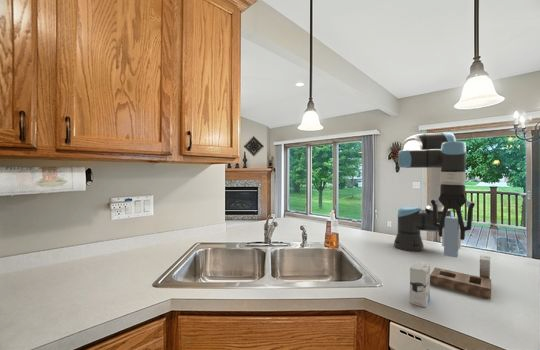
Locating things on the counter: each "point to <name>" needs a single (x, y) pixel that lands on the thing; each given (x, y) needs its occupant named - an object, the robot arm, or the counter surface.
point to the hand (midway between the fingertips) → (451, 246)
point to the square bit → (451, 236)
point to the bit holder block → (461, 282)
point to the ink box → (420, 284)
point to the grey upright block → (485, 267)
